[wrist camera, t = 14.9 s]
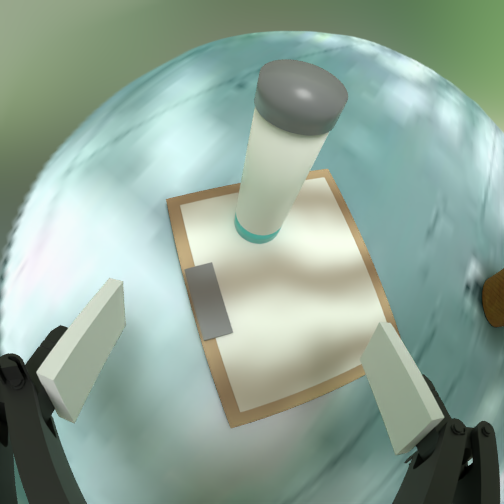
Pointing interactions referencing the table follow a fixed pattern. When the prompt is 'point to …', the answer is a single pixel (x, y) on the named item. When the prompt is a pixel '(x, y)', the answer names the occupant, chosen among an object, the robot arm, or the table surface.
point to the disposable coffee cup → (494, 299)
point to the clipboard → (278, 297)
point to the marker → (284, 142)
